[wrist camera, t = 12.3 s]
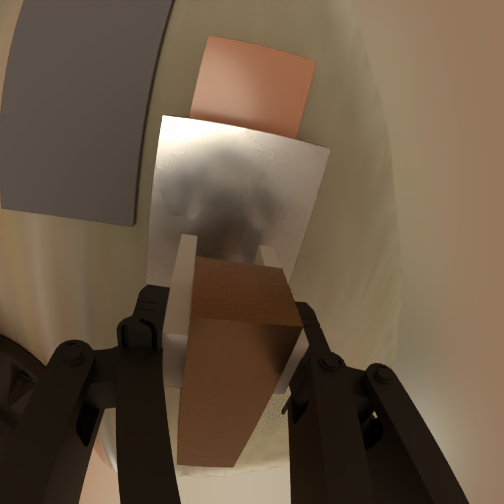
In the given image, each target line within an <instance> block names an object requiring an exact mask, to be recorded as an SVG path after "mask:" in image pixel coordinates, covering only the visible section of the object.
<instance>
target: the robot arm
mask: <svg viewBox="0 0 504 504" xmlns="http://www.w3.org/2000/svg"><path fill="white" fill-rule="evenodd" d="M196 245H197V236H193V235H186V234H182V235H181V239H180V244H179V248H178V253H177V258H176V262H175V267H174V272H173V277H172V282H171V287H163V286H156V285H150V284H147V285H146V286H145V287H144V288H143V289H142V290H141V291H140V293H139V296H138V299H137V302H136V306H135V309H134V312H133V316H130V317H128V318H125V319H123V320H122V321H121V322H120V323H119V325H118V327H117V339H118V346H116V347H114V348H111V349H104V350H93V349H92V348H91V347H90V346H89V344H87V343H85V342H83V341H80V340H69V341H65V342H64V343H62V344H60V345H59V346H58V347H57V348H56V350H55V351H54V353H53V355H52V357H51V359H50V360H49V362H48V364H47V366H46V368H45V367H44V366H43V365H42V364H41V363H40V362H39V361H37V360H36V359H35V358H34V357H33V356H32V355H31V354H29V353H28V352H27V351H25V350H24V349H23V348H21V347H20V346H18V345H17V344H15V343H14V342H12V341H10V340H9V339H7V338H5V337H3V336H0V504H79V499H80V495H81V491H82V486H83V482H84V478H85V475H86V471H87V467H88V463H89V460H90V456H91V453H92V449H93V446H94V442H95V439H96V436H97V432H98V429H99V426H100V423H101V419H102V416H103V413H104V410H105V408H116V449H117V469H118V482H119V493H120V503H121V504H181V502H180V496H179V491H178V486H177V481H176V475H175V469H174V463H173V457H172V450H171V444H170V436H169V429H168V421H167V412H166V403H165V393H164V386H169V387H177V388H182V384H183V374H184V364H185V355H186V346H187V337H188V324H189V312H190V300H191V289H192V281H193V273H194V263H195V254H196ZM254 264H255V265H262V266H270V267H277V268H281V265H280V262H279V260H278V257H277V254H276V252H275V249H274V247H268V246H261V245H259V247H258V251H257V255H256V259H255V263H254ZM295 304H296V307H297V310H298V312H299V315H300V318H301V321H302V323H303V326H304V327H303V329H302V331H301V334H300V336H299V338H298V340H297V343H296V345H295V347H294V349H293V352H292V354H291V356H290V358H289V360H288V362H287V364H286V367H285V369H284V371H283V373H282V375H281V377H280V379H279V381H278V383H277V385H276V387H275V390H274V392H273V394H284V393H285V391H286V389H287V388H288V386H289V387H290V391H291V395H290V397H289V399H288V400H287V402H286V404H285V406H284V407H283V409H282V413H281V414H285V412H286V410H287V409H288V428H289V454H290V483H291V504H469V502H468V500H467V498H466V496H465V494H464V492H463V490H462V488H461V486H460V485H459V483H458V481H457V479H456V477H455V475H454V473H453V471H452V469H451V468H450V466H449V464H448V462H447V460H446V459H445V457H444V455H443V453H442V452H441V450H440V448H439V446H438V444H437V443H436V441H435V439H434V437H433V435H432V434H431V432H430V430H429V429H428V427H427V425H426V423H425V422H424V420H423V418H422V417H421V415H420V413H419V412H418V410H417V408H416V407H415V405H414V403H413V402H412V400H411V399H410V397H409V395H408V394H407V392H406V390H405V389H404V387H403V385H402V384H401V382H400V381H399V379H398V377H397V376H396V374H395V373H394V372H393V371H392V369H390V368H389V367H387V366H386V365H383V364H380V363H374V364H371V365H369V367H368V368H367V369H366V371H363V370H359V369H355V368H351V367H348V366H346V364H345V362H344V360H343V359H342V358H341V357H340V356H339V355H337V354H335V353H334V352H331V351H330V348H329V346H328V344H327V341H326V339H325V336H324V334H323V331H322V329H321V328H320V324H319V322H318V321H317V317H316V315H315V312H314V310H313V309H312V308H311V307H310V306H309V305H308V304H307V303H306V302H296V301H295ZM374 411H375V413H376V415H377V417H378V418H375V417H374V416H373V412H374Z"/></svg>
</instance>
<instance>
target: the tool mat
mask: <svg viewBox="0 0 504 504" xmlns="http://www.w3.org/2000/svg"><path fill="white" fill-rule="evenodd" d="M173 3H174V0H24V1H23V4H22V7H21V10H20V14H19V17H18V20H17V24H16V27H15V31H14V35H13V39H12V43H11V48H10V52H9V57H8V62H7V67H6V73H5V80H4V86H3V94H2V103H1V114H0V195H1V207H2V209H9V210H17V211H24V212H31V213H39V214H46V215H53V216H60V217H68V218H75V219H82V220H89V221H96V222H103V223H110V224H117V225H124V226H131V227H133V226H134V224H135V214H136V200H137V189H138V178H139V169H140V160H141V152H142V144H143V137H144V130H145V124H146V118H147V112H148V106H149V101H150V95H151V90H152V85H153V80H154V75H155V71H156V66H157V62H158V58H159V53H160V49H161V45H162V41H163V38H164V34H165V30H166V26H167V23H168V19H169V16H170V13H171V9H172V6H173Z"/></svg>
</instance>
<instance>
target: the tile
mask: <svg viewBox="0 0 504 504" xmlns="http://www.w3.org/2000/svg"><path fill="white" fill-rule="evenodd" d="M315 66H316V61H313V60H310V59H307V58H304V57H300V56H297V55H294V54H290V53H287V52H283V51H279V50H276V49H272V48H268V47H264V46H259V45H255V44H251V43H246V42H241V41H236V40H231V39H225V38H219V37H213V36H208V40H207V44H206V48H205V51H204V55H203V59H202V63H201V67H200V71H199V75H198V79H197V84H196V88H195V92H194V97H193V102H192V106H191V111H190V116H189V118H194V119H201V120H207V121H213V122H219V123H225V124H230V125H236V126H241V127H246V128H251V129H256V130H260V131H265V132H270V133H274V134H278V135H283V136H287V137H291V138H295V139H296V137H297V134H298V130H299V126H300V123H301V119H302V115H303V111H304V108H305V104H306V100H307V96H308V93H309V89H310V85H311V81H312V77H313V74H314V70H315Z"/></svg>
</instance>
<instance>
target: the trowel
mask: <svg viewBox="0 0 504 504" xmlns="http://www.w3.org/2000/svg"><path fill="white" fill-rule="evenodd" d="M330 150H331V149H329V148H327V147H325V146H321V145H318V144H314V143H310V142H306V141H303V140H299V139H295V138H291V137H287V136H283V135H278V134H274V133H270V132H265V131H260V130H256V129H251V128H246V127H241V126H236V125H230V124H225V123H219V122H213V121H207V120H201V119H194V118H187V117H179V116H172V115H164V116H163V119H162V125H161V131H160V137H159V143H158V150H157V157H156V164H155V172H154V180H153V189H152V198H151V209H150V220H149V233H148V248H147V267H146V285H147V284H150V285H156V286H163V287H171V282H172V277H173V272H174V267H175V262H176V258H177V253H178V248H179V244H180V239H181V235H182V234H186V235H193V236H197V245H196V254H195V263H194V273H193V281H192V289H191V300H190V312H189V324H188V337H187V346H186V355H185V364H184V374H183V384H182V388H180V401H179V414H178V438H177V465H188V466H203V467H234V465H235V463H236V461H237V460H238V458H239V456H240V454H241V453H242V451H243V449H244V447H245V445H246V444H247V442H248V440H249V438H250V436H251V434H252V432H253V431H254V429H255V427H256V425H257V423H258V421H259V419H260V417H261V415H262V413H263V411H264V409H265V408H266V406H267V404H268V402H269V400H270V398H271V396H272V394H273V392H274V390H275V387H276V385H277V383H278V381H279V379H280V377H281V375H282V373H283V371H284V369H285V367H286V364H287V362H288V360H289V358H290V356H291V354H292V352H293V349H294V347H295V345H296V343H297V340H298V338H299V336H300V334H301V331H302V329H303V327H304V326H303V323H302V321H301V318H300V315H299V312H298V310H297V307H296V304H295V301H294V299H293V296H292V293H291V290H290V288H289V285H288V284H289V281H290V278H291V275H292V272H293V269H294V266H295V263H296V260H297V257H298V254H299V251H300V248H301V245H302V242H303V239H304V236H305V233H306V230H307V226H308V223H309V220H310V217H311V214H312V211H313V207H314V204H315V201H316V198H317V194H318V191H319V188H320V184H321V181H322V178H323V174H324V171H325V167H326V164H327V160H328V157H329V153H330ZM259 245H261V246H268V247H274V249H275V252H276V254H277V257H278V260H279V262H280V265H281V268H277V267H270V266H262V265H255V264H254V263H255V259H256V255H257V251H258V247H259Z"/></svg>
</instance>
